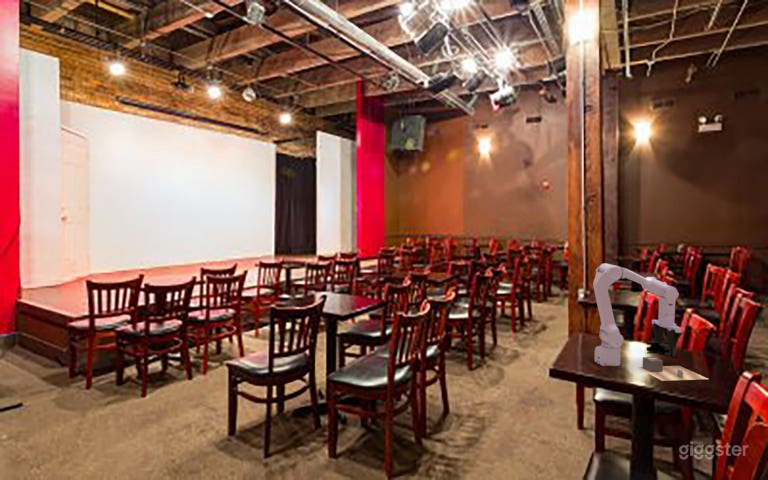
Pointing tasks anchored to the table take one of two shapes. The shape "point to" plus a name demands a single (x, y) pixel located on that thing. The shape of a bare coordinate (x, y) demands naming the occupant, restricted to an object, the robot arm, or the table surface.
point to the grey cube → (652, 364)
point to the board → (674, 374)
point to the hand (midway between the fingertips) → (665, 345)
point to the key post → (680, 373)
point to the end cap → (661, 348)
